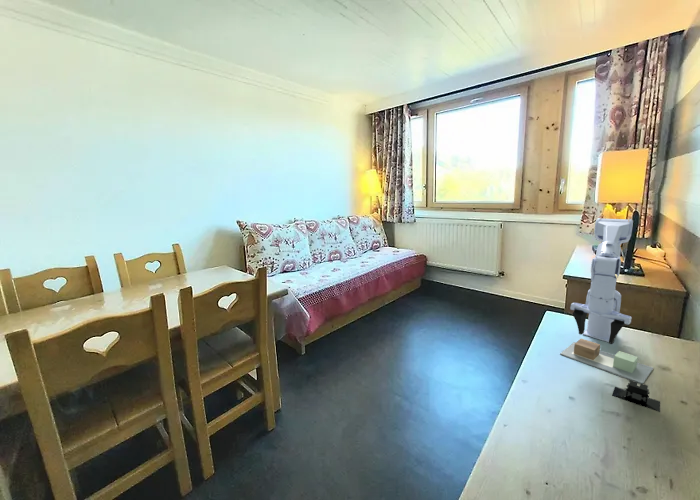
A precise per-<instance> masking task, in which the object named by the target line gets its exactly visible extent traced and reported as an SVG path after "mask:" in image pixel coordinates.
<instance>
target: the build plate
mask: <svg viewBox="0 0 700 500" xmlns="http://www.w3.org/2000/svg"><path fill="white" fill-rule="evenodd" d="M576 342H577V341H573V342H572V343H571V344H570V345H568V347H566V348H565V349H564V350H563V351H561V352H560V354H559V355H561V356H563V357H567V358H569V359H571V360H574V361H577V362H580V363H583V364H585V365H588V366H591V367H594V368H597V369H599V370H601V371H605V372H607V373H610V374H613V375H616V376H619V377H621V378H625V379H627V380H629V381H630V380H631V381H634V382H637V383H638V384H640V383H641V384H644V383H645V382H646V381H647V379H648V377H649V376H650V374H651V373H652V371H653V370H654V367H653V366H649V365H646V364H644V363H640V362H638V361H637V366H636V369H635V370H634V371H633V373H630V372H627V371H624V370H622V369H619V368H616V367H613V362H614V356H615V355H616V354H612V353H609V352H606V351H603V350H602V349H600V352H599V355H598V356H597V357H596V358H595V359H594V360H591V359H588V358H585V357H582V356H580V355H577V354H574V346H575V343H576Z"/></svg>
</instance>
